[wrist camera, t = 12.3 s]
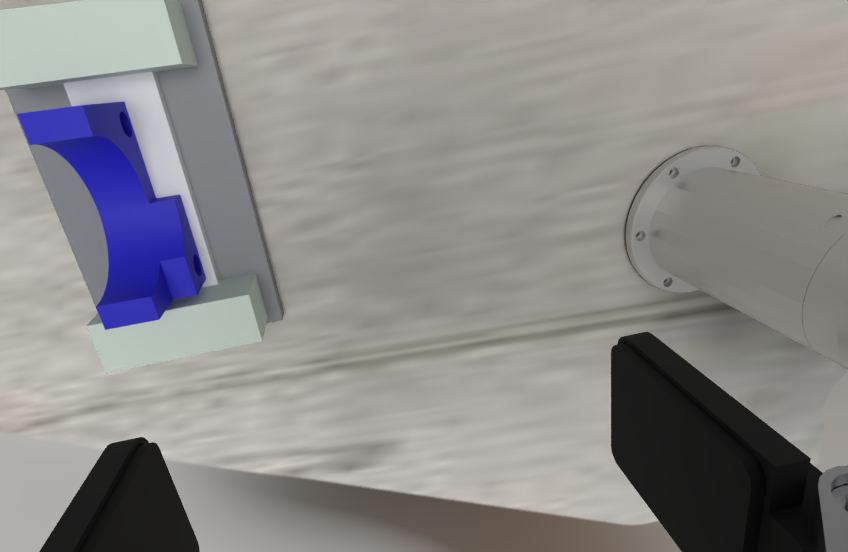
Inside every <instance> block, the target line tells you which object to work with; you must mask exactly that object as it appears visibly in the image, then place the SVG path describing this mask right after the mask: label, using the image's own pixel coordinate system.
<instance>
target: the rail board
mask: <svg viewBox="0 0 848 552" xmlns="http://www.w3.org/2000/svg"><path fill="white" fill-rule="evenodd" d="M0 90H6V92H7V95H8V97H9V100H10V102H11V104H12V107H13V109H14V112H15V114H16V116H17V114H19V113H27V112H35V111H42V110H50V109H57V108H65V107H72V106H80V105H90V104H101V103H112V102H123V101H124V102H125V105H126V108H127V111H128V114H129V117H130V120H131V123H132V126H133V129H134V132H135V135H136V138H137V142H138V145H139V148H140V151H141V154H142V157H143V160H144V163H145V166H146V169H147V172H148V175H149V178H150V181H151V184H152V187H153V190H154V193H155V196H156V198H161V197H167V196H174V195H181V199H182V202H183V205H184V208H185V211H186V215H187V218H188V221H189V224H190V228H191V231H192V234H193V237H194V240H195V244H196V247H197V250H198V253H199V257H200V260H201V263H202V266H203V269H204V273H205V276H206V280H205V282H204V284H203V286H202V287H201V289H200V291H199V293H198V294H197V295H195V296H190V297H184V298H179V299H174V300H172V302H171V303H170V305H169V306H168V308H167V309H166V311H165V312H164V314H163V315H162V317H161V318H160V320H155V321H150V322H145V323H139V324H134V325H129V326H123V327H118V328H113V329H108V330H105V328H104V326H103V323H102V321H101V318H100V316H99V314H97V315H96V316H95V317H94V318H93V319H92V320H91V321H90V322H89V324H88V325H87V326H86V328H87V330H88V332H89V334H90V337H91V339H92V341H93V344H94V346H95V348H96V351H97V353H98V355H99V358H100V360H101V362H102V365H103V367H104V369H105V371H106V374H107V373H112V372H116V371H121V370H126V369H131V368H136V367H141V366H145V365H150V364H155V363H160V362H165V361H170V360H174V359H179V358H184V357H189V356H194V355H199V354H204V353H208V352H213V351H218V350H223V349H228V348H233V347H237V346H242V345H247V344H252V343H257V342H262V340H263V335H264V331H265V326H266V323H269V322H274V321H279V320H283V309H282V306H281V302H280V298H279V294H278V290H277V287H276V283H275V279H274V275H273V271H272V268H271V264H270V260H269V256H268V252H267V249H266V245H265V241H264V237H263V233H262V230H261V226H260V222H259V218H258V214H257V211H256V207H255V203H254V199H253V196H252V192H251V188H250V184H249V180H248V177H247V173H246V169H245V165H244V161H243V158H242V154H241V150H240V146H239V142H238V139H237V135H236V131H235V127H234V123H233V120H232V116H231V112H230V108H229V104H228V101H227V97H226V93H225V89H224V86H223V82H222V78H221V74H220V70H219V67H218V63H217V59H216V55H215V51H214V48H213V44H212V40H211V36H210V32H209V29H208V25H207V21H206V17H205V13H204V10H203V6H202V2H201V0H83V1H74V2H65V3H57V4H48V5H39V6H30V7H21V8H13V9H4V10H0ZM17 119H18V121H19V124H20V126H21V128H22V125H21V123H20V120H19V118H18V116H17ZM22 131H23V133H24V130H23V128H22ZM24 136H25V138H26V135H25V133H24ZM26 140H27V138H26ZM27 143H28V145H29V142H28V140H27ZM29 148H30V150H31V152H32V155H33V157H34V160H35V162H36V164H37V167H38V169H39V172H40V174H41V176H42V179H43V181H44V184H45V186H46V188H47V191H48V193H49V195H50V198H51V200H52V203H53V205H54V207H55V210H56V212H57V215H58V217H59V219H60V222H61V224H62V227H63V229H64V231H65V234H66V236H67V239H68V241H69V243H70V246H71V248H72V251H73V253H74V255H75V258H76V260H77V263H78V265H79V267H80V270H81V272H82V275H83V277H84V279H85V282H86V284H87V287H88V289H89V291H90V294H91V296H92V299H93V301H94V303H95V306H97V304H98V303H99V302H100V300H101V299H102V296H103V294H104V292H105V289H106V284H107V279H108V269H109V261H108V249H107V242H106V237H105V232H104V228H103V225H102V221H101V218H100V215H99V212H98V210H97V207H96V205H95V203H94V200H93V198H92V196H91V194H90V192H89V190H88V189H87V187H86V185H85V183H84V182H83V180H82V179H81V177H80V176H79V175H78V173H77V172H76V171H75V169H74V168H73V167H72V166H71V165H70V164H69V163H68V162H67V161H66V160H65V159H64V158H63V157H62V156H61V155H59V154H58V153H57V152H55V151H54V150H52V149H50V148H48V147H45V146H42V145H29Z"/></svg>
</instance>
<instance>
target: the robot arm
mask: <svg viewBox="0 0 848 552" xmlns="http://www.w3.org/2000/svg"><path fill="white" fill-rule="evenodd" d="M626 246H627V252H628V255H629V258H630V261H631V263H632V265H633V266H634V268H635V270H636V271H637V273H638V274H639V275H640V276H641V277H642V278H643V279H644V280H646V281H647V282H649V283H651V284H652V285H654V286H655V287H657V288H659V289H662V290H664V291H668V292H674V293H690V292H694V291H699V290H701V291H703V292H705V293H707V294H709V295H711V296H712V297H714V298H716V299H718V300H720V301H722V302H724V303H725V304H727V305H729V306H731V307H733V308H735V309H737V310H738V311H740V312H742V313H744V314H746V315H748V316H750V317H751V318H753V319H755V320H757V321H759V322H761V323H763V324H764V325H766V326H768V327H770V328H772V329H774V330H776V331H777V332H779V333H781V334H783V335H785V336H787V337H789V338H790V339H792V340H794V341H796V342H798V343H800V344H802V345H803V346H805V347H807V348H809V349H811V350H813V351H815V352H817V353H818V354H820V355H823V356H824V357H826V358H828V359H830V360H832V361H834V362H836V363H838V364H840V365H841V366H844V367H846V368H848V194H844V193H839V192H834V191H829V190H824V189H820V188H815V187H810V186H805V185H801V184H796V183H791V182H786V181H781V180H777V179H772V178H767V177H762V176H761V174H760V172H759V170H758V169H757V167H756V166H755V165H754V163H753V162H752V161H751V160H750V159H748V158H747V157H746V156H745V155H743V154H742V153H739V152H737V151H735V150H732V149H728V148H723V147H716V146H703V147H697V148H692V149H689V150H687V151H684V152H681V153H679V154H677V155H675V156H674V157H672V158H670V159H669V160H667V161H666V162H664V163H663V164H662V165H661V166H660V167H659V168H657V169H656V170H655V171H654V172H653V173H652V174H651V176H650V177H649V178H648V179H647V180H646V181H645V183H644V184H643V186H642V187H641V189H640V190H639V192H638V194H637V195H636V197H635V199H634V202H633V204H632V207H631V209H630V212H629V216H628V220H627V224H626ZM611 448H612V453H613V456H614V459H615V461H616V463H617V465H618V466H619V467H620V469H621V470H622V471H623V473H624V474H625V476H626V477H627V478H628V480H629V481H630V482H631V484H632V485H633V486H634V488H635V489H636V490H637V492H638V493H639V494H640V496H641V497H642V498H643V500H644V501H645V502H646V504H647V505H648V507H649V508H650V509H651V511H652V512H653V513H654V515H655V516H656V517H657V519H658V520H659V521H660V523H661V524H662V525H663V527H664V528H665V529H666V531H667V532H668V533H669V535H670V536H671V537H672V539H673V540H674V541H675V543H676V544H677V546H678V547H679V548H680V550H681V551H682V552H848V466H837V467H834V468H832V469H829V470H826V471H825V472H824V473H822V472H820V471H819V470H818V469H817V468H816V467H814V466H813V465H812V464H811V463H810V458H809V457H808V456H807V455H805V454H804V453H803V452H801V451H800V450H799V449H798V448H796V447H795V446H794V445H793V444H791V443H790V442H789V441H787V440H786V439H785V438H784V437H782V436H781V435H780V434H779V433H777V432H776V431H775V430H773V429H772V428H771V427H770V426H768V425H767V424H766V423H765V422H763V421H762V420H761V419H759V418H758V417H757V416H756V415H754V414H753V413H752V412H751V411H749V410H748V409H747V408H745V407H744V406H743V405H742V404H740V403H739V402H738V401H737V400H735V399H734V398H733V397H731V396H730V395H729V394H728V393H726V392H725V391H724V390H722V389H721V388H720V387H719V386H717V385H716V384H715V383H714V382H712V381H711V380H710V379H708V378H707V377H706V376H705V375H703V374H702V373H701V372H700V371H698V370H697V369H696V368H694V367H693V366H692V365H691V364H689V363H688V362H687V361H686V360H684V359H683V358H682V357H680V356H679V355H678V354H677V353H675V352H674V351H673V350H672V349H670V348H669V347H668V346H666V345H665V344H664V343H663V342H661V341H660V340H659V339H658V338H656V337H655V336H654V335H652V334H651V333H649V332H643V333H638V334H634V335H629V336H624V337H621V338H620V339H619V341H618V345H615V346H613V347H612V351H611ZM40 552H199V545H198V541H197V539H196V536H195V534H194V531H193V529H192V527H191V524H190V522H189V520H188V517H187V514H186V512H185V510H184V507H183V505H182V502H181V500H180V498H179V495H178V493H177V490H176V488H175V485H174V483H173V480H172V478H171V476H170V473H169V471H168V468H167V466H166V463H165V461H164V458H163V456H162V454H161V451H160V449H159V447H158V445H157V444H156V443H149V442H148V441H147V440H146V439H145V438H143V437H140V438H135V439H130V440H125V441H120V442H116V443H112V444H109V445H108V446H107V447H106V448H105V450H104V451H103V453H102V455H101V456H100V458H99V459H98V461H97V463H96V464H95V466H94V467H93V469H92V470H91V472H90V473H89V475H88V476H87V478H86V480H85V481H84V483H83V484H82V486H81V487H80V490H79V491H78V492H77V494H76V496H75V497H74V498H73V500H72V502H71V503H70V505H69V507H68V508H67V509H66V511H65V513H64V514H63V516H62V517H61V519H60V520H59V522H58V523H57V525H56V527H55V528H54V530H53V531H52V533H51V534H50V536H49V538H48V539H47V541H46V542H45V544H44V546H43V547H42V549H41V550H40Z"/></svg>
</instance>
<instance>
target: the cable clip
mask: <svg viewBox="0 0 848 552" xmlns="http://www.w3.org/2000/svg"><path fill="white" fill-rule="evenodd" d="M17 116H18V118H19V120H20V123H21V125H22V128H23V130H24V133H25V135H26V138H27V140H28V142H29V145H42V146H45V147H48V148H50V149H52V150H54V151H55V152H57V153H58V154H59V155H61V156H62V157H63V158H64V159H65V160H66V161H67V162H68V163H69V164H70V165H71V166H72V167H73V168H74V169H75V171H76V172H77V173H78V175H79V176H80V177H81V179H82V180H83V182H84V183H85V185H86V187H87V189H88V190H89V192H90V194H91V196H92V198H93V200H94V203H95V205H96V207H97V210H98V212H99V215H100V218H101V221H102V225H103V228H104V232H105V237H106V242H107V249H108V261H109V269H108V279H107V284H106V289H105V292H104V294H103V296H102V299H101V300H100V302H99V303H98V304H97V306H96V309H97V311H98V314H99V316H100V318H101V321H102V323H103V326H104V328H105V330H108V329H113V328H118V327H123V326H129V325H134V324H139V323H145V322H150V321H155V320H160V318H161V317H162V315H163V314H164V312H165V311H166V309H167V308H168V306H169V305H170V303H171V302H172V300H174V299H179V298H184V297H190V296H195V295H197V294H198V293H199V291H200V289H201V287H202V286H203V284H204V282H205V280H206V276H205V273H204V269H203V266H202V263H201V260H200V257H199V253H198V250H197V247H196V244H195V240H194V237H193V234H192V231H191V228H190V224H189V221H188V218H187V215H186V211H185V208H184V205H183V202H182V199H181V195H174V196H167V197H161V198H156V196H155V193H154V190H153V187H152V184H151V181H150V178H149V175H148V172H147V169H146V166H145V163H144V160H143V157H142V154H141V151H140V148H139V145H138V142H137V138H136V135H135V132H134V129H133V126H132V123H131V120H130V117H129V114H128V111H127V108H126V105H125V102H124V101H123V102H112V103H101V104H90V105H80V106H72V107H65V108H57V109H50V110H42V111H35V112H27V113H19V114H17Z"/></svg>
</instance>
